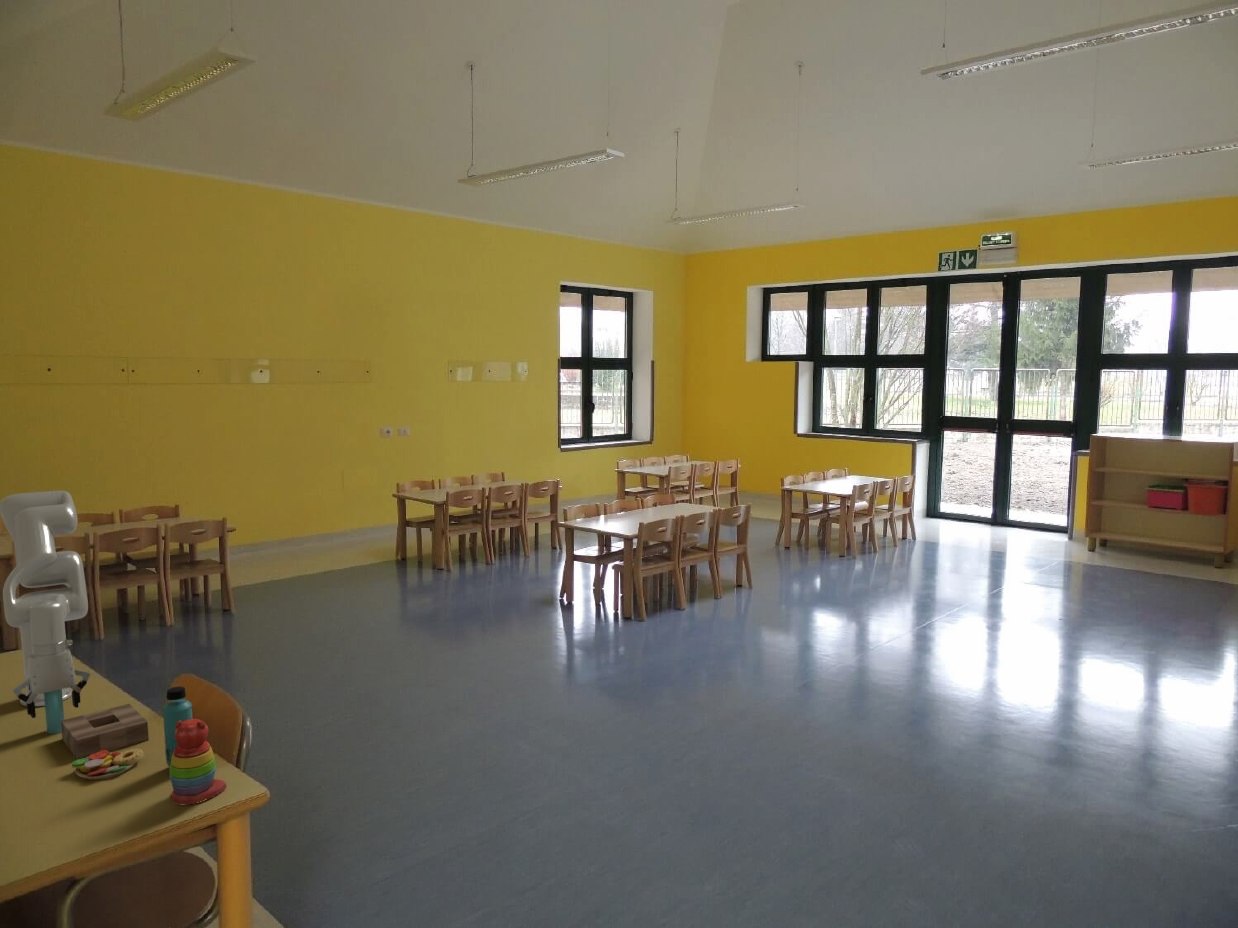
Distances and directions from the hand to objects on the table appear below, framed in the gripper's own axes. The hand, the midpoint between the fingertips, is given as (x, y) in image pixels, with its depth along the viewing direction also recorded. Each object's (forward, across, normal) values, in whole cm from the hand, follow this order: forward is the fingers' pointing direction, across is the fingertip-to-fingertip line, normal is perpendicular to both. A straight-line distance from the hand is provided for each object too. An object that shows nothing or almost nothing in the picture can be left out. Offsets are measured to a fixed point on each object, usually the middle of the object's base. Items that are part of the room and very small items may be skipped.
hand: (54, 711), depth 229 cm
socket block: (+6, -8, +14) cm, 17 cm away
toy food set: (+7, -4, +32) cm, 33 cm away
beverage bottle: (+7, -17, +44) cm, 48 cm away
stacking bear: (+7, -15, +60) cm, 63 cm away
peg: (+6, 0, -1) cm, 6 cm away
